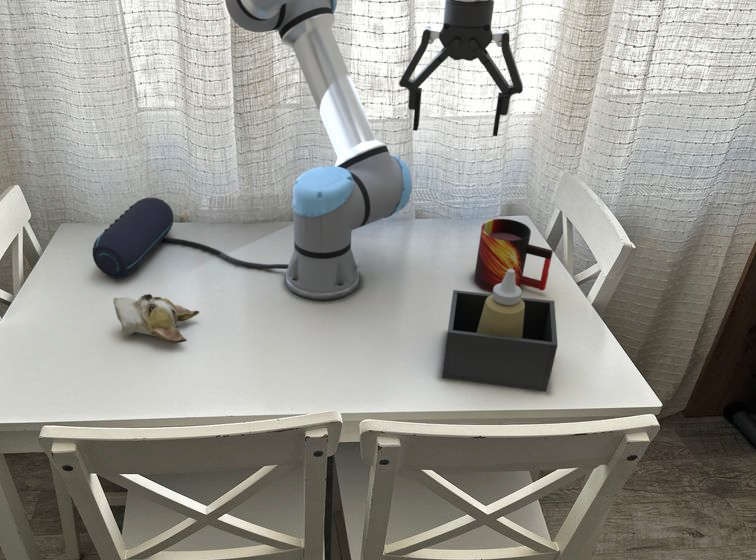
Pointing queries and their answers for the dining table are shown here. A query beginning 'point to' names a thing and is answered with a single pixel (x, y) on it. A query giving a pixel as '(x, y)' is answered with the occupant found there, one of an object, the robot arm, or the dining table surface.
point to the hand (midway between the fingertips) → (455, 130)
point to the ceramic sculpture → (152, 317)
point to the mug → (507, 254)
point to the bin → (500, 345)
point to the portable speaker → (132, 237)
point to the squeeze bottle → (503, 309)
